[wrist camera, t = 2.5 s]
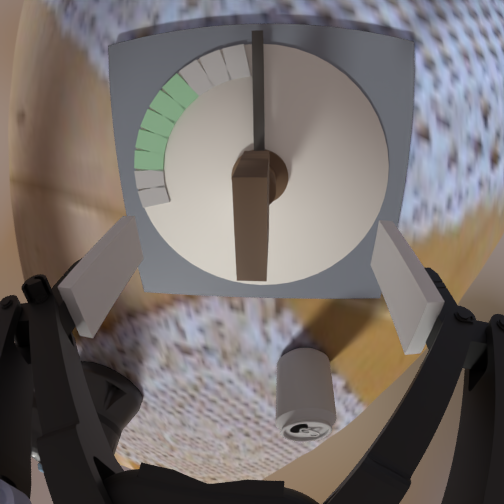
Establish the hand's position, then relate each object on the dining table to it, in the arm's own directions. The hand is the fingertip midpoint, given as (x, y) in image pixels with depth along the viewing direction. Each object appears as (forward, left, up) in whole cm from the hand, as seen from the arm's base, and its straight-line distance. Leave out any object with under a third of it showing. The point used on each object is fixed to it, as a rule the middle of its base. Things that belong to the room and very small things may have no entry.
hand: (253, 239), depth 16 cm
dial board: (0, 0, -14) cm, 14 cm away
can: (+6, -27, -14) cm, 31 cm away
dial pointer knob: (0, +5, -12) cm, 13 cm away
